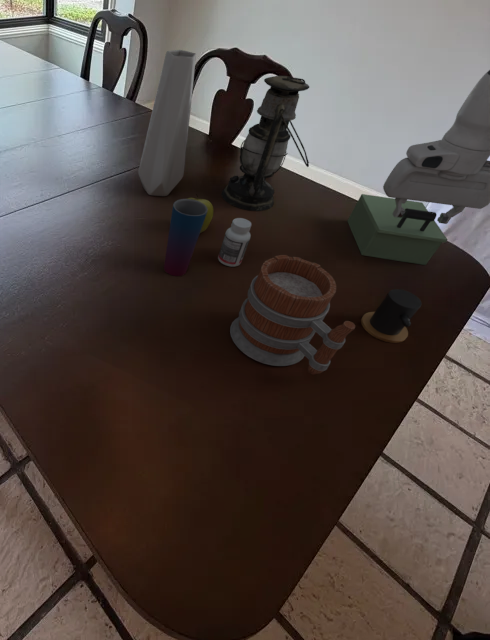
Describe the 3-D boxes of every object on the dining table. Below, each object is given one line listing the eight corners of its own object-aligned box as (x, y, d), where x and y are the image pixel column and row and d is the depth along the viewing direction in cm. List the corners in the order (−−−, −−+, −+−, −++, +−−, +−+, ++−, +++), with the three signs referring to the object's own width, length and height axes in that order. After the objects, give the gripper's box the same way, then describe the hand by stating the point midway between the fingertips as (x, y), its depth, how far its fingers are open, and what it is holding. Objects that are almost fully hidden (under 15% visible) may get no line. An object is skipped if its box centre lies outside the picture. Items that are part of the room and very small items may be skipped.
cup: (167, 256, 100) (180, 195, 90) (194, 267, 98) (212, 205, 87) (154, 271, 96) (167, 208, 85) (183, 282, 94) (200, 219, 83)
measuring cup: (366, 313, 89) (385, 286, 84) (395, 318, 88) (416, 291, 83) (377, 342, 83) (397, 314, 78) (408, 347, 83) (431, 320, 78)
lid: (445, 242, 98) (461, 221, 94) (377, 232, 100) (390, 211, 96) (420, 205, 110) (433, 185, 107) (360, 196, 112) (370, 176, 108)
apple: (206, 240, 104) (204, 198, 98) (175, 238, 109) (172, 198, 103) (218, 226, 109) (217, 186, 103) (188, 225, 113) (185, 186, 108)
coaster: (399, 317, 90) (401, 315, 89) (412, 346, 84) (414, 344, 83) (356, 310, 90) (358, 308, 90) (366, 338, 85) (367, 336, 84)
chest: (425, 265, 104) (444, 240, 99) (361, 255, 105) (376, 230, 101) (404, 229, 115) (420, 205, 110) (347, 220, 117) (359, 196, 112)
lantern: (222, 179, 130) (256, 63, 109) (288, 190, 128) (336, 73, 106) (219, 208, 118) (257, 83, 96) (292, 221, 115) (348, 96, 93)
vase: (128, 182, 126) (146, 46, 102) (165, 179, 128) (191, 46, 105) (143, 202, 118) (166, 60, 94) (182, 199, 120) (214, 60, 97)
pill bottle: (230, 251, 103) (243, 214, 96) (246, 264, 100) (260, 226, 93) (212, 257, 101) (224, 218, 94) (227, 269, 98) (241, 231, 91)
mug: (271, 308, 89) (301, 245, 79) (343, 377, 77) (390, 313, 66) (214, 324, 85) (238, 260, 74) (280, 399, 73) (320, 335, 62)
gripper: (507, 157, 89) (463, 219, 99) (401, 145, 92) (368, 206, 101) (523, 170, 85) (475, 233, 95) (410, 157, 87) (375, 219, 97)
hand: (418, 219), depth 98 cm, fingers open, 8 cm apart
